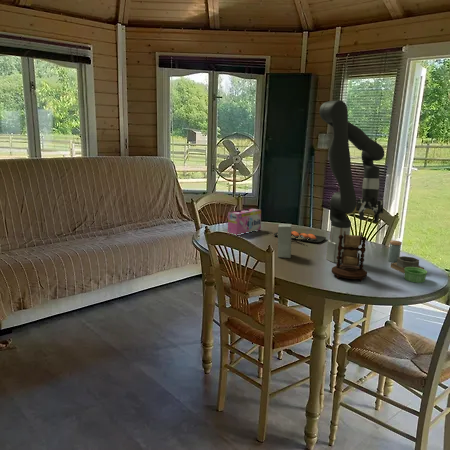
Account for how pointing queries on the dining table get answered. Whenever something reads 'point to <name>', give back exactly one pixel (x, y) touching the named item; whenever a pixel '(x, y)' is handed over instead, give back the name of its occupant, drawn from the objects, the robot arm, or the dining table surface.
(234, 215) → the gum box
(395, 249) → the canister
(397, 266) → the socket
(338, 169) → the robot arm
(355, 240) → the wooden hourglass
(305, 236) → the sushi plate
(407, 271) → the ramekin
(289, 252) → the skincare box
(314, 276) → the dining table surface
